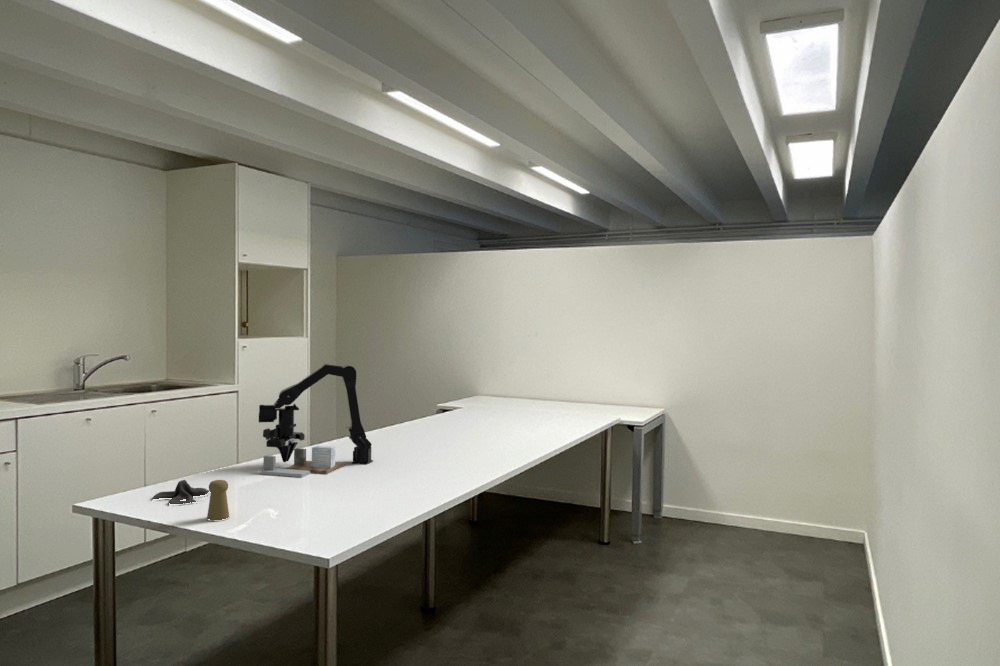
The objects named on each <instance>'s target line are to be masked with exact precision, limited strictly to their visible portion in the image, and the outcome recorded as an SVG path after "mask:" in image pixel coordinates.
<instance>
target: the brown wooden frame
mask: <svg viewBox="0 0 1000 666" xmlns="http://www.w3.org/2000/svg"><path fill="white" fill-rule="evenodd" d="M344 464H345V463H343V462H335V466H334V467H332V468H327V469H313V467H312V460H307V448H298V447H297V448H296V447H295V449H294V451H293V464H292V465H289V466H287V467H285V469H294V470H307V471H310V474H318V473H319V474H320V475H321V474H322V475H328V474H331V473H333V472H335V471H337V470H339V469H341V468H343V467H344ZM336 469H337V470H336ZM334 470H335V471H334ZM332 471H333V472H332ZM330 472H331V473H330Z"/></svg>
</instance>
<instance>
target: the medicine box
mask: <svg viewBox="0 0 1000 666" xmlns="http://www.w3.org/2000/svg"><path fill="white" fill-rule="evenodd" d="M311 461H312V467H313V469H327V468H332V467H334V466H335V463H336V446H333V445H331V446H330V445H329V446H328V445H315V446H312V447H311Z"/></svg>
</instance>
